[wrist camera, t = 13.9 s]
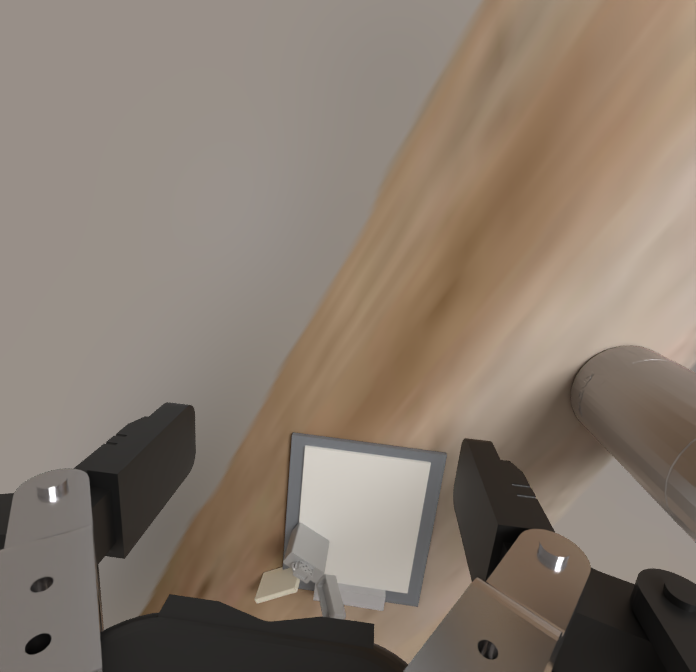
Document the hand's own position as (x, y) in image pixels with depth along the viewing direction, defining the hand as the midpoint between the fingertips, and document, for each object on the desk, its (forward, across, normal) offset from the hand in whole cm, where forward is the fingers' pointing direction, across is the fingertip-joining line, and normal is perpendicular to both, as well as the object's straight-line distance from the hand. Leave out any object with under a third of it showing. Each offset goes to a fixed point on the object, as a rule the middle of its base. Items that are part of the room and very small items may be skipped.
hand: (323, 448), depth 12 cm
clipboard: (+28, -2, +26) cm, 38 cm away
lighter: (+27, +2, +29) cm, 40 cm away
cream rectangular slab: (+28, +6, +34) cm, 44 cm away
